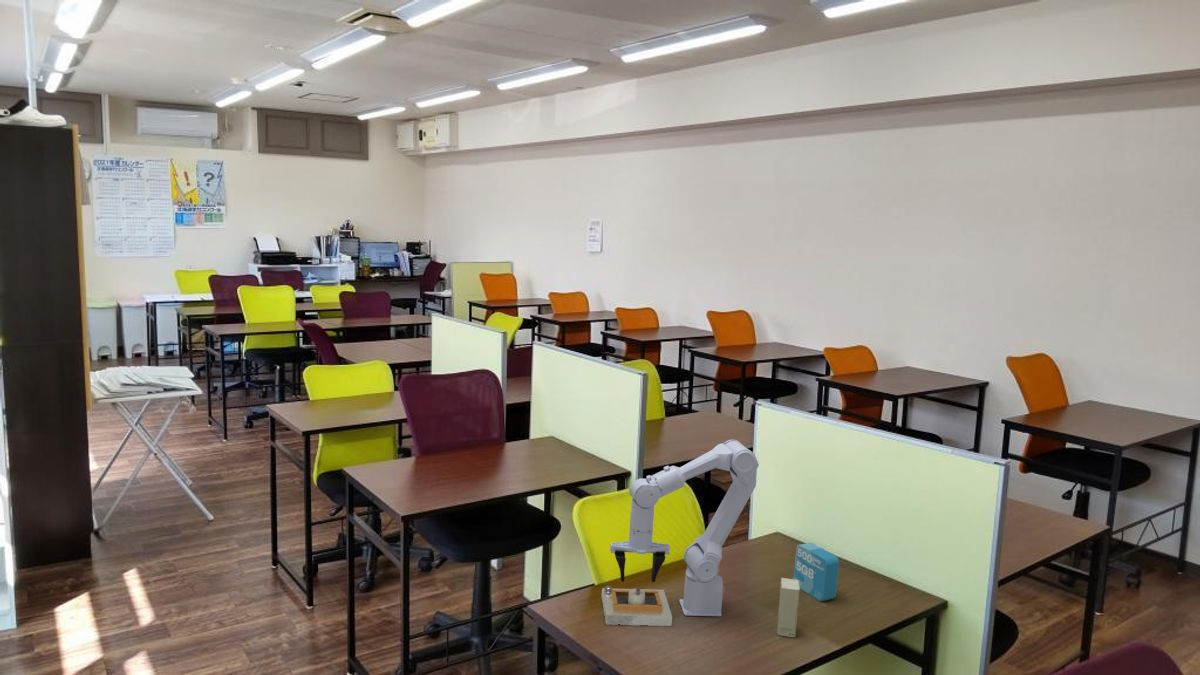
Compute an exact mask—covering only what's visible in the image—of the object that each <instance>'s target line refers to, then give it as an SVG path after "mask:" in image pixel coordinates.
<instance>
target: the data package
mask: <svg viewBox="0 0 1200 675" xmlns="http://www.w3.org/2000/svg"><path fill="white" fill-rule="evenodd" d="M795 548H796V549H795V558H794V567H793V568H794V570H793V575H792V577H793V578H792V579H794V580H799V587H800V590H801V591H803V592H805V593H806V594H808V595H810V596H811V597H813V598H814V599H815V598H816V599H815V600H817V601H818V602H824V601H828V600H833V599H835V598H836V596H837V595H836V594H837V587H838V586H837V585H838V577H839V570H840V569H839V566H840V561H839V558H838V557H837V556H836V555H835V554H833V553H831V552H829V551H828V550H826V549H824V548H822V547H821V546H819V545H817V544H815V543H813V542H808V543H803V544H802V543H801V544H798V545H797V546H796V547H795Z"/></svg>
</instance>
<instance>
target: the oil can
mask: <svg viewBox="0 0 1200 675" xmlns="http://www.w3.org/2000/svg"><path fill="white" fill-rule="evenodd" d="M630 589H631V590H629V598H628V604H637V605H644V600H645V592H644V591H643V590H641V589H640V588H630Z"/></svg>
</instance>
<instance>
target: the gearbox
mask: <svg viewBox="0 0 1200 675" xmlns="http://www.w3.org/2000/svg"><path fill="white" fill-rule="evenodd" d="M601 589H602V590H601V602H602V603H601V604H602V608H603V609H602V610H603V615H604V616H605V617H604V622H605V626H640V625H648V627H649V626H650V627H653V626H654V627H672V626H673V615H672V611H671V609H670V605H669V603H668V602H669V601H668V599H667V596H666V593H665V590H664V589H652V588H650V589H649V588H648V589H647V588H646V589H645V588H642V589H641V590H643V591H644V592H645V600H644V605H637V604H628V598H629V590H631V589H632V588H613V586H611V585H605V586H604V587H603V588H601ZM610 624H611V625H610ZM618 624H620V625H618ZM626 624H627V625H626Z"/></svg>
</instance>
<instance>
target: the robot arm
mask: <svg viewBox="0 0 1200 675" xmlns="http://www.w3.org/2000/svg"><path fill="white" fill-rule="evenodd" d="M758 468H759V462H758V459H757V457H756V455H755V453H754V452H753V451H751V450H750V449H749V448H747V447H746V446H745V445H743V444H742V442H740V441H739V440H736V439H728V440H726V441H724V442H723V443H718V444H717V445H715V446H714V448H713V449H711V450H709V451H708V452H706V453H704V454H702V455H699V456H698V457H696V458H695V459H692V460H690V461H689V462H687V463H686V464H684V465H682V466H680V467H679V466H676V465H671V466H669V465H666V466H664V467H663V470H660V471H658V472H656V473H655V474H651V475H650V474H649V475H646V478H637V479H635V480H634V481H633V482H632V484H631V485H630V488H628V492H629V495H630V496H631V498H632V499H631V508H630V519H629V534H628V540H626V541H619V542H610V547H609V550H610V551H609V552H610V554H614V555H615V559H616V562H617V565H618V569H619V572H620V574H619V575H620V582H625V569H626V568H625V567H626V562H627V561H626V554H625V553H628V554H629V553H630V554H631V553H634V554H638V555H646V554H652V568H651V573H650V574H651V575H650V577H651V578H650V579H651V582H652V583H656V579H657V575H658V573H659V571H660V569H661V567H662V565H663V564H664V563H665V560H666V555H670V549H671V547H670V544H668V543H661V542H653V533H654V532H653V531H654V530H653V529H654V519H655V518H654V517H655V506H656V505H657V503H658V501H659V500H660V499H661V498H663V497H664V496H667V495H669V494H671V493H673V492H675V491H678V490H680V489H682V488H684V485H685V483H686V481H687V480H690V479H692V478H695V477H697V476H699V475H702V474H704V473H707V472H709V471H711V470H714V469H718V470H723V471H726V472H729V473H730V476H731V479H732V483H731V484H730V486H729V488H728V490H727V491H726V494H725V495H724V496H723V499H722V500H721V502H720V504H719V506H718V508H717V509H716V512H714V514H713V516H712V518H711V520H710V521H709V524H708V526H707V527H706V529H705V531H704V533H703V534H701V535H700V536H698V537H696V538H695V540H693V542H692V543H691V544H690V545H689V546H687V547H686V549H685V551H684V553H683V559H684V562H685V564H687V566H686V567H687V568H686V570H685V578H684V587H683V588H684V590H683V591H684V592H683V598H680V599H679V604H680V607H681V610H682V613H683V615H684V616H688V617H689V616H690V617H699V616H700V617H722V609H723V608H722V607H723V597H724V596H723V594H724V583H723V579H722V576H721V575H718V573H719V566H720V563H721V561H722V560H723V553H722V552H723V551H722V550H723V548H722V547H723V545H724V543H725V542H726V540H727V539H728V536H729V535H730V533H731V531H732V530H733V528H734V526H735V524H736V522H737V521H738V519H739V517H740V515H741V513H742V512H743V510H744V508H745V506H746V505H747V502H748V501H749V499H750V497H751V496H752V494H753V492H754V490H755V488H756V486H757V470H758Z"/></svg>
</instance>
